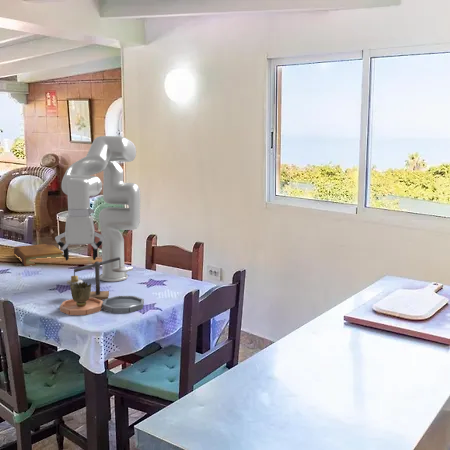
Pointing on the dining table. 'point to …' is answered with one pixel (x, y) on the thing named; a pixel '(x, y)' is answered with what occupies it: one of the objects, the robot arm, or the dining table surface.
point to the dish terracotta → (89, 308)
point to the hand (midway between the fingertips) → (80, 259)
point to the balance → (97, 278)
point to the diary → (36, 252)
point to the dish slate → (123, 304)
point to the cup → (80, 293)
